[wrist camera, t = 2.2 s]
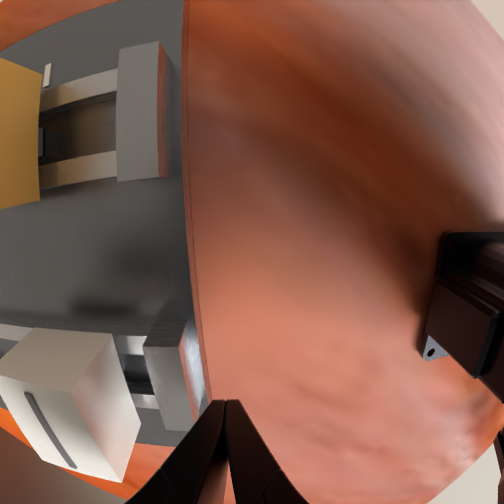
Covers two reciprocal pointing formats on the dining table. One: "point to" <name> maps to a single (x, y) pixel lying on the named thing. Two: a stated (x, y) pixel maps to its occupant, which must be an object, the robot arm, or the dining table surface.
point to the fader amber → (19, 134)
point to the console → (113, 206)
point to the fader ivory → (71, 400)
